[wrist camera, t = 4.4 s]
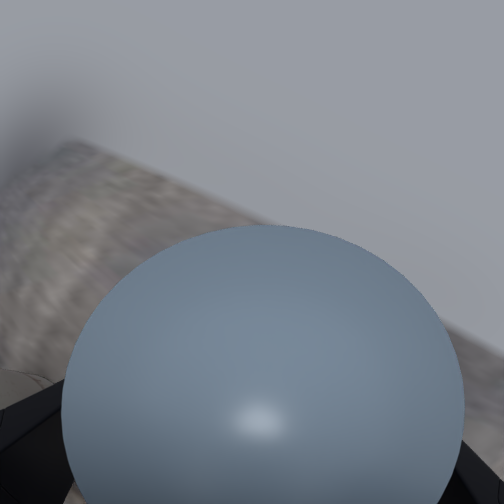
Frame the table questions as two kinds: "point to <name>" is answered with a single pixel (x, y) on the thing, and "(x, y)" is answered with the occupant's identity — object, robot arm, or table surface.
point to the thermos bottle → (19, 386)
